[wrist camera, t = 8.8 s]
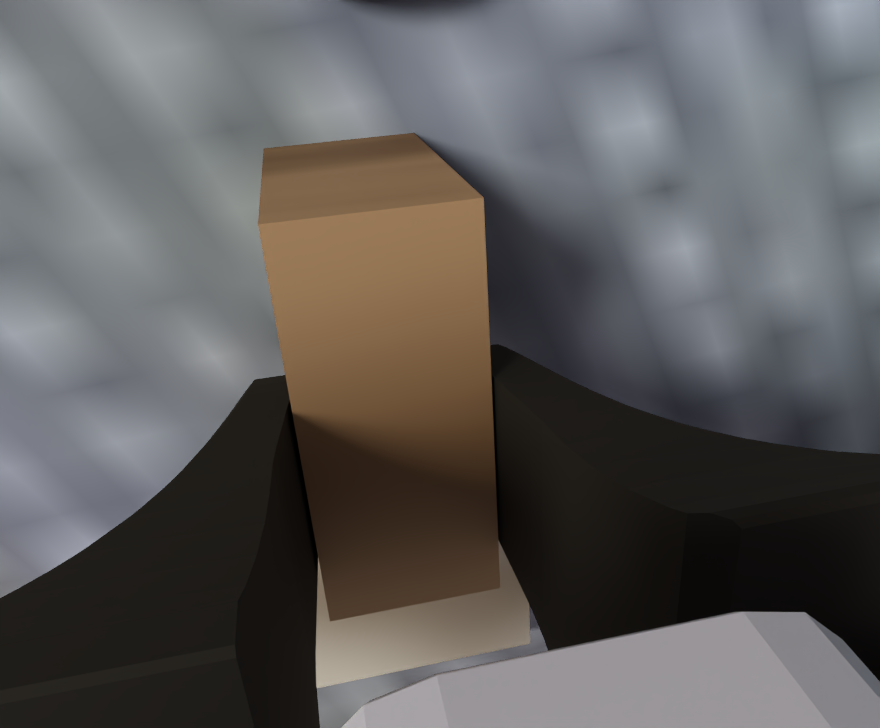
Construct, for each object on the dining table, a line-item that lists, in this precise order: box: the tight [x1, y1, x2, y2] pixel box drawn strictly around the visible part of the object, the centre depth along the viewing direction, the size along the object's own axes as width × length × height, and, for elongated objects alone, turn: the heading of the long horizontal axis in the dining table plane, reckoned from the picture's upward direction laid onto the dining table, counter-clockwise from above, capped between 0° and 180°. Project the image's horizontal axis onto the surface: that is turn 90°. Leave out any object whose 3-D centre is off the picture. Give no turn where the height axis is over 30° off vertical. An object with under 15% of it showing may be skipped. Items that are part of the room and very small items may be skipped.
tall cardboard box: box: [258, 133, 530, 688], centre depth 13 cm, size 12×6×5 cm, turn 4°
